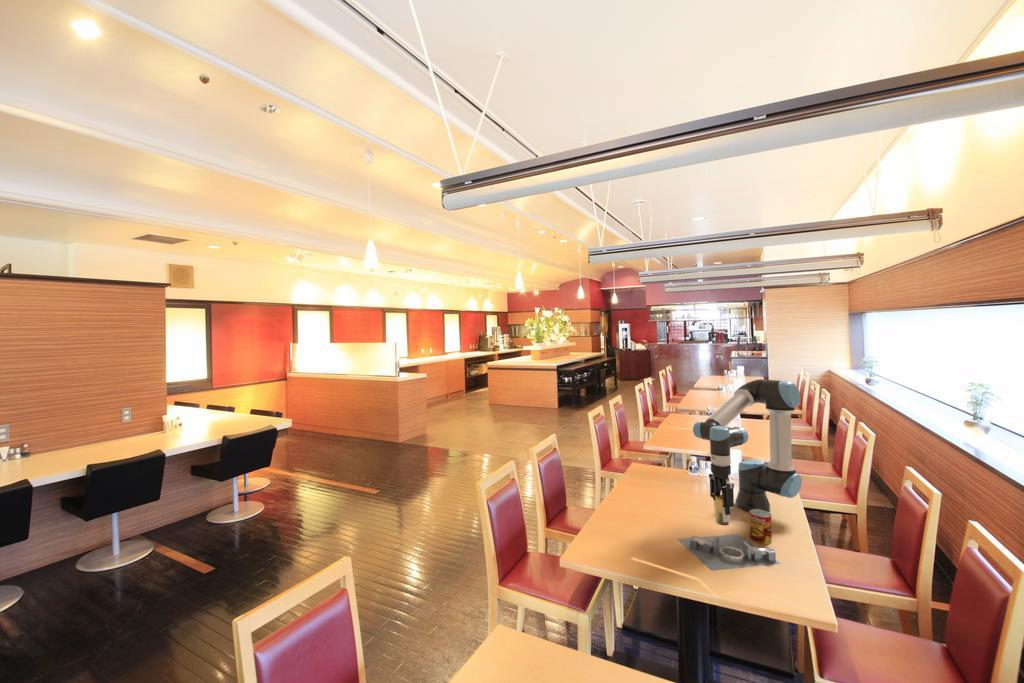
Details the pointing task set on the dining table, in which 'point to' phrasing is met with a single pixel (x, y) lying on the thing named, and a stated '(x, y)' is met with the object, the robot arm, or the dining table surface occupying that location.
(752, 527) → the canned food
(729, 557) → the socket
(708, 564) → the base board
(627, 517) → the dining table surface
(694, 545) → the shaft
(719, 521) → the cylinder
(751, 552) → the shaft
